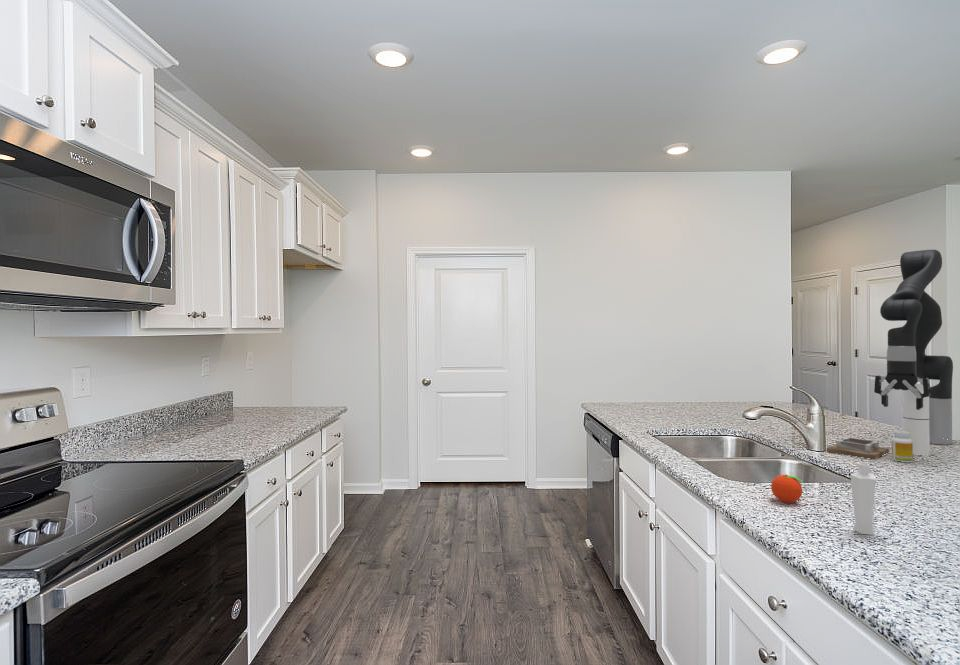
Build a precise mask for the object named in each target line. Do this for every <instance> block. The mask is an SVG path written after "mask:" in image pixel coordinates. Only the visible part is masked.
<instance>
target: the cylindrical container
mask: <svg viewBox="0 0 960 665" xmlns="http://www.w3.org/2000/svg"><path fill="white" fill-rule="evenodd" d="M915 386H916V387H917V388H918V389H919V391H920V392H921V393H922V394H923V393H924V391H923V385H921V384H920V382H917V383H916V384H915ZM911 389H912V388H911ZM901 392H902V393H901V395H902V396H901V398H902V399H901V400H902V401H901V402H902V403H901V404H902V405H901V406H902V407H901V408H902V409H901V410H902V412H901V413H902V414H901V416H902V420H901V422H902V431H906V432H909V433H910V437H909V439H911V440H912V442H913V454H914V455H913V456H915V455H929V456H930V452H931V451H930V444H931V443H930V442H929V396H928V397H924V398H923V408H921V409H920V410H916V398H917V397H916V396H915V395H914V394H913V393H912V392H911V391H910V390H901Z"/></svg>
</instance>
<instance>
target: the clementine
mask: <svg viewBox="0 0 960 665" xmlns="http://www.w3.org/2000/svg"><path fill="white" fill-rule="evenodd" d="M799 481H801V482H802V483H803V484H804V485H805V486H806V488H808V486H807V485H806V483H805V482H804V481H803V480H802V479H800V478H798V477H796V476H794V475H788V474H780V475H778V476H776V477H775V478H774V479H772V481H771V485H770V486H771V488H770V489H771V492H772V494H773V496H774V497H775V498H776V499H777V500H779V502H783V503H787V504H790V503H795V502H797V501H799V500H800V498H801V497H802V495H803V487H802V485H801V483H800V482H799Z"/></svg>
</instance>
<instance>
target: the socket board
mask: <svg viewBox="0 0 960 665" xmlns="http://www.w3.org/2000/svg"><path fill="white" fill-rule="evenodd" d="M826 452H827V453H830V452H831V453H832V454H836V453H838V455H842V454H844V455H843V456H848V455H851V456H850V457H854V456H857V457H856V458H860V457H864V458H863V459H866V458H870V459H869V460H872V459H875V460H877V459H879V458H881V457H883V456H882V455H884V454H886V453H888V452H889V453H890V449H889V448H887V447H880V446H879V441H877V440H869V439H863V438H857V437H856V438H855V437H849V436H846V437H843V438H840V439H838V440H836V444H834V445H830V446H828V447H826ZM831 453H830V454H831ZM889 453H888V454H889ZM886 455H887V454H886ZM880 456H881V457H880ZM884 456H885V455H884ZM878 457H879V458H878ZM876 458H877V459H876Z"/></svg>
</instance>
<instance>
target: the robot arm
mask: <svg viewBox="0 0 960 665" xmlns="http://www.w3.org/2000/svg"><path fill="white" fill-rule="evenodd" d="M899 261H900V262H899V265H900V270H901V275H902V281H901V282H900V284H899V285H898V286H897V288H896V290H895V292H894V293H892V294H891V295H890V296H889V297H888V298H886V299H885V300H884V301H883V302H882V304H881V306H880V311H879V312H880V316H881V317H882V318H883V319H884V320H885V321H889V322H895V321H896V322H897V321H898V322H901V321H906V322H905V324H904V325H903V326H899V327H893V328H891V329H889V330H887V349H886V375H885V376H884V375H875V378H874V390H873V392H874V393H875V394H879V395H880V396H881V398H880V399H881V401H880V402H881V405H882V406H883V407H885V408H887V407H889V395H888V394H889V393H890V392H891V391H893V390H895V391H896V390H897V391H898V390H901V391H902V390H910V391H911V392H912V393H913V394H914V395H915V396H916V397H917V398H916V410H920V409H921V408H923V398H924V397H928V396H929V442H930V444H932V445H947V446H948V445H952V444H953V375H954V374H953V372H954V362H953V359H952V358H951V357H950V356H949V355H927V354H926V348H927V347H928V345H929V344H930V342H931V341H932V339H933V338H934V337H935V336H936V335H937V333H938V332H939V330H941V328H942V325H943V317H942V309H941V306H940V305H939V303H938V302H937V301H936V300H935V299H934V298H933V297H932V296H930V294H929V293H927V292H926V288H927V287H928V286H929V284H930V283H931V282H932V281H934V279H936V277H937V275H938V274H939V273H940V271H941V270H942V267H943V257H942V254H941V252H940V251H939V250H938V249H925V250H922V249H921V250H914V251H905V252H904V253H902V254H901V257H900V260H899ZM930 380H932V381H933V380H935V381H939V382H938V384H935V385H934V386H931V384H930V383H931V381H930ZM885 381H886V382H887V384H888V385H887V386H886V387H884V388H883V390H882V383H884V382H885ZM917 382H920V384H921V385H923V391H924V393H923V394H922V393H921V392H920V391H919V389H918V388H917V387H916V386H915V384H916V383H917ZM911 388H912V389H911ZM943 438H944V439H943ZM947 439H948V440H947Z"/></svg>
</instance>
